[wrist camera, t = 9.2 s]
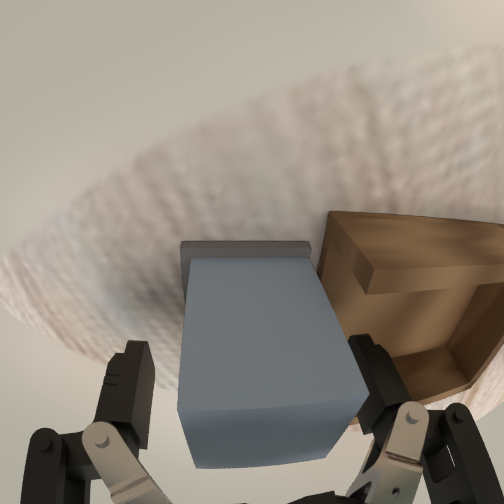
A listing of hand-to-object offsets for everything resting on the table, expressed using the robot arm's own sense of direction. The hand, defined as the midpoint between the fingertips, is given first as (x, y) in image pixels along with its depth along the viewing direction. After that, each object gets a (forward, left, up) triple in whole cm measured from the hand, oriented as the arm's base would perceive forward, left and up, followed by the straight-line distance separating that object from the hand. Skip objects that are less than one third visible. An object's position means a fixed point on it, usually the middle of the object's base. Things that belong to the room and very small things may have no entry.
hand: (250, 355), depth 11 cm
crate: (-10, +1, -4) cm, 11 cm away
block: (0, 0, -3) cm, 3 cm away
